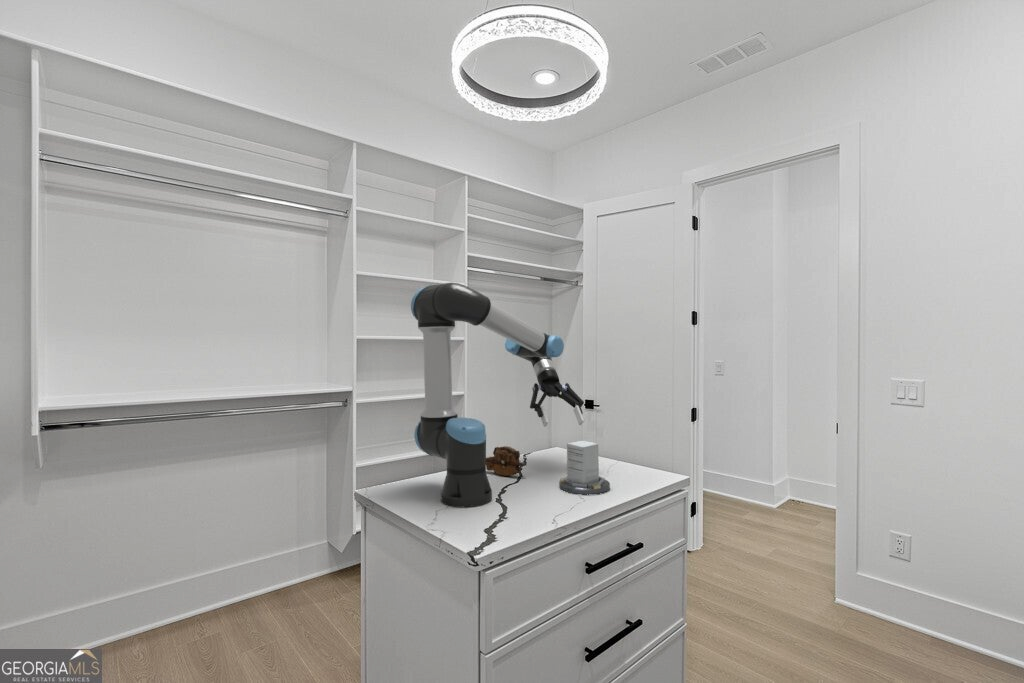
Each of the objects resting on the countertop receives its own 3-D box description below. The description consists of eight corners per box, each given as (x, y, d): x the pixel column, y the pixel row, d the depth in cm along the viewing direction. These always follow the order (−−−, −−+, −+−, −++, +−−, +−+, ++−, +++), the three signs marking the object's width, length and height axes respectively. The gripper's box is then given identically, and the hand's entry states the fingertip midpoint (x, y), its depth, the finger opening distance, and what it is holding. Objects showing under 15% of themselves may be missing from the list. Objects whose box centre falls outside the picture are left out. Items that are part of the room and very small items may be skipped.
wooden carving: (480, 474, 177) (480, 445, 177) (487, 471, 181) (487, 443, 181) (521, 480, 168) (521, 450, 168) (527, 477, 172) (527, 448, 172)
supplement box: (581, 478, 165) (581, 439, 165) (599, 483, 159) (599, 443, 159) (566, 482, 160) (566, 443, 160) (584, 487, 154) (583, 446, 154)
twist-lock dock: (575, 497, 149) (575, 488, 149) (550, 483, 164) (550, 475, 164) (620, 491, 155) (619, 482, 155) (592, 478, 170) (592, 470, 170)
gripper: (572, 380, 190) (591, 428, 176) (511, 381, 180) (527, 431, 167) (580, 368, 185) (600, 416, 171) (518, 368, 175) (534, 418, 162)
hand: (564, 423), depth 169 cm, fingers open, 13 cm apart
